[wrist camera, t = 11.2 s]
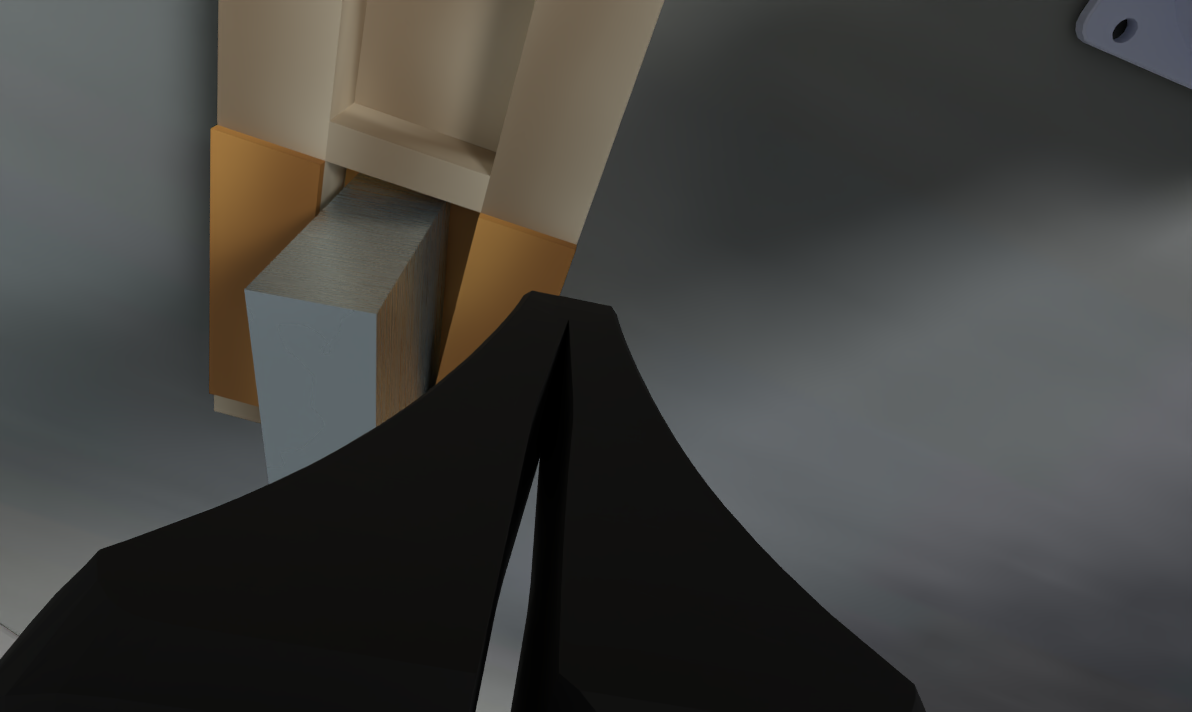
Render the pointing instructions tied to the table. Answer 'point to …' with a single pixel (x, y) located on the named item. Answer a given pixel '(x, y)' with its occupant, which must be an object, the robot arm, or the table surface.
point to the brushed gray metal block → (348, 321)
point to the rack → (414, 142)
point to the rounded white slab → (6, 639)
